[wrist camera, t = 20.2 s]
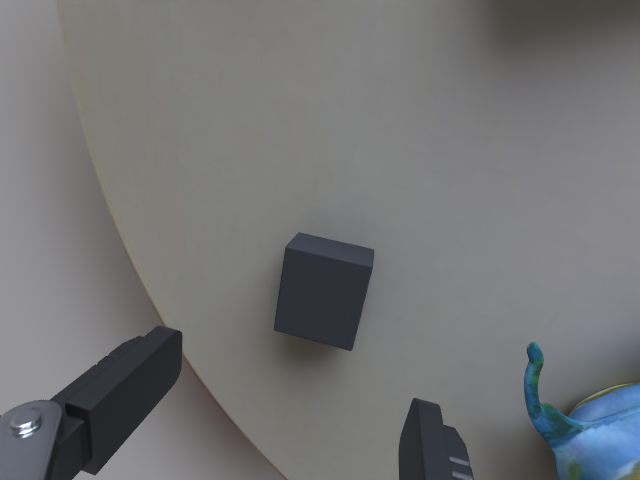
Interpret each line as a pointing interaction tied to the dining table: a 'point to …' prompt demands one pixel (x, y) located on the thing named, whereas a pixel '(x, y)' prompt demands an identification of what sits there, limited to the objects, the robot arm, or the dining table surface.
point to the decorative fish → (588, 429)
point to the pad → (323, 290)
